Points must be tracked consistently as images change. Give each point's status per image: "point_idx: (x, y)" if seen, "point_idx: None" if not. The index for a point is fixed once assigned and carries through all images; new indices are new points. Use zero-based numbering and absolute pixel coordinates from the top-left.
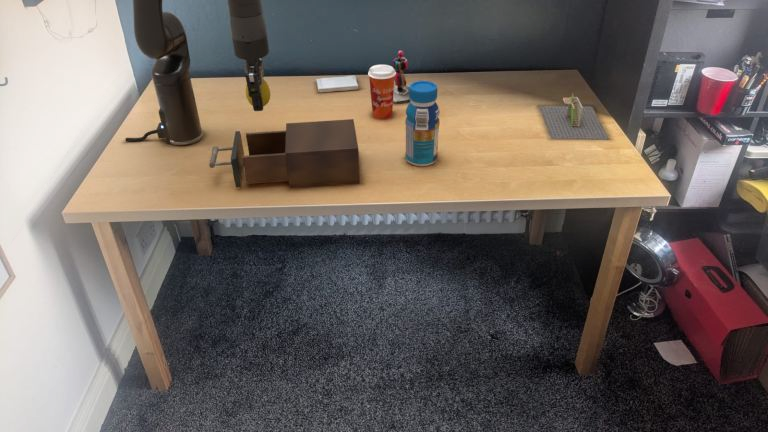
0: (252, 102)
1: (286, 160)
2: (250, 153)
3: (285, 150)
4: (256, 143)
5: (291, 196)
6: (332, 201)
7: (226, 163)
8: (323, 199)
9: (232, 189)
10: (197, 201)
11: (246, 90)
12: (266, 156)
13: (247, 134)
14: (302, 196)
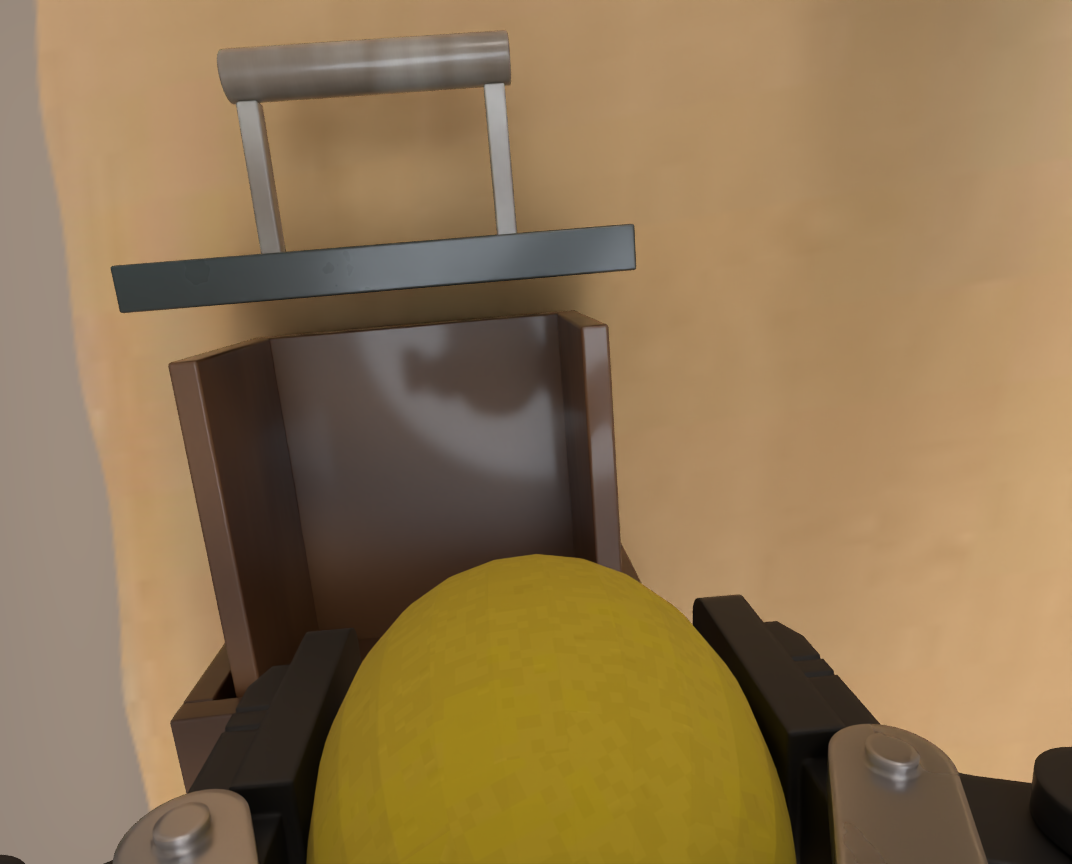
0: (272, 704)
1: (198, 683)
2: (560, 326)
3: (213, 717)
4: (574, 390)
5: (194, 592)
6: (159, 792)
7: (253, 200)
8: (175, 750)
9: (255, 237)
10: (99, 19)
11: (429, 691)
12: (206, 551)
13: (583, 341)
14: (198, 647)
